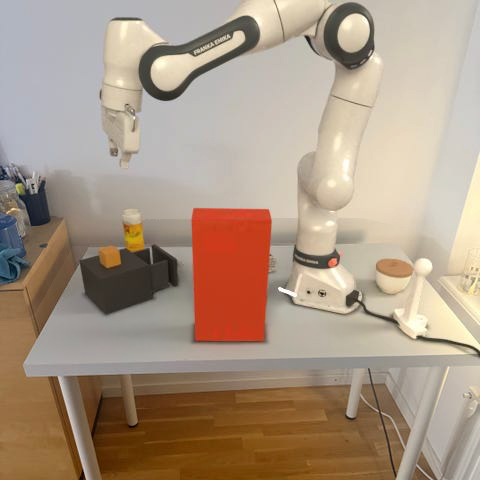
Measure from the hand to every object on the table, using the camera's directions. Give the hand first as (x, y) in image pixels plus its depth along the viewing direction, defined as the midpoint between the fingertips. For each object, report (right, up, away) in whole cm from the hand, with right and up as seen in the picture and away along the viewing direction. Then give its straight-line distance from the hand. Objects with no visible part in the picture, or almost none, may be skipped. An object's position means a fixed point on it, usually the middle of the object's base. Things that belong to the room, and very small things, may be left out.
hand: (118, 161), depth 112 cm
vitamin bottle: (-6, -16, +46) cm, 49 cm away
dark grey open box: (-6, -31, +22) cm, 39 cm away
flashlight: (+36, -19, +43) cm, 59 cm away
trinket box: (+75, -29, +30) cm, 86 cm away
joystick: (+76, -40, +13) cm, 87 cm away
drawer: (+4, -27, +28) cm, 39 cm away
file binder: (+27, -42, +8) cm, 50 cm away
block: (-6, -23, +15) cm, 28 cm away
